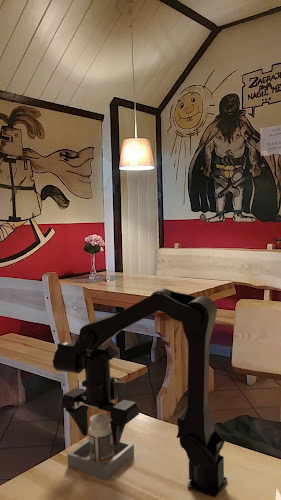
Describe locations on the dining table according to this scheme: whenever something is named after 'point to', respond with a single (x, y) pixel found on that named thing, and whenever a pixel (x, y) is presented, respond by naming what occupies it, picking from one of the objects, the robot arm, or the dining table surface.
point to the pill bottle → (100, 439)
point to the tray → (82, 462)
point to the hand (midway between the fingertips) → (100, 440)
